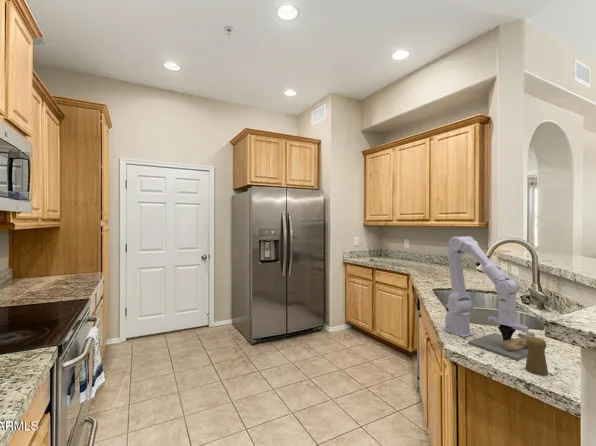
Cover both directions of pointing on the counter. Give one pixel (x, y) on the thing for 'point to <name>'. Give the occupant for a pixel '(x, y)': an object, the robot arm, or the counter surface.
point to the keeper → (524, 335)
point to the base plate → (499, 346)
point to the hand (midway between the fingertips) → (507, 345)
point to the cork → (536, 356)
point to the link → (515, 344)
